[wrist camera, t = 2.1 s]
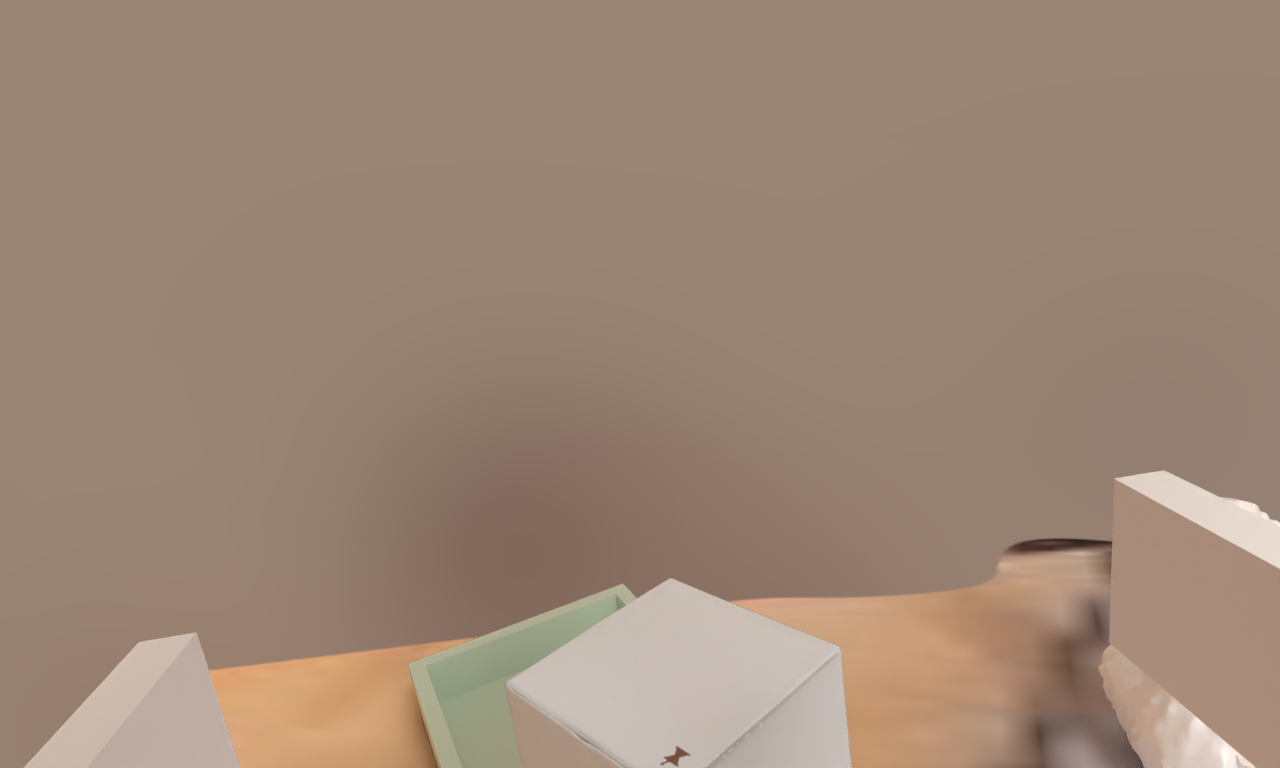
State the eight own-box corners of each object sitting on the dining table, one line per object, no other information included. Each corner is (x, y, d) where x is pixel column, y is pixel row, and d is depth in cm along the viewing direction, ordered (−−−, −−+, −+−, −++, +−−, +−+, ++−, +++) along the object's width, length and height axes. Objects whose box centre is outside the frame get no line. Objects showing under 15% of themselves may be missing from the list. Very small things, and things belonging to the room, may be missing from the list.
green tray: (630, 627, 47) (622, 583, 46) (744, 755, 36) (737, 700, 35) (420, 711, 42) (407, 663, 41) (476, 889, 31) (461, 829, 30)
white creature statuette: (1369, 736, 32) (1406, 465, 29) (1391, 902, 26) (1440, 578, 22) (1103, 669, 38) (1109, 438, 35) (1067, 790, 31) (1069, 521, 28)
